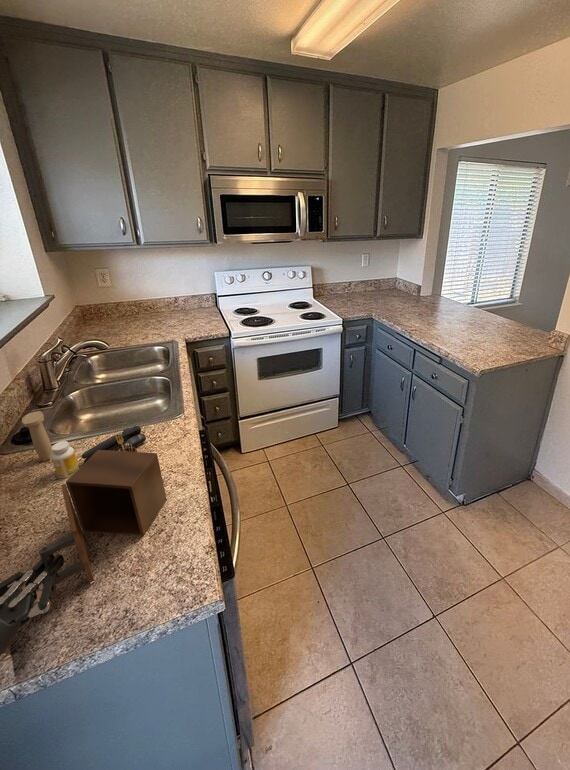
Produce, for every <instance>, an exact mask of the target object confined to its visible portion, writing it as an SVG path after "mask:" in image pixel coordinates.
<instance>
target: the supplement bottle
mask: <svg viewBox="0 0 570 770" xmlns="http://www.w3.org/2000/svg"><path fill="white" fill-rule="evenodd" d="M51 447H52V452H53V453H52V455H51V461H52V464H53V467H54V469H55V473H56V476H57V478H60V479H67V478H70V477H71V476H72V475H73V474H74V473H75V472H76V471H77V470H78V469H79V468H80V465H79V462H78V458H77V456H76V453H75V452H76V451H75V450H74V448H73V447H71V445H70V443H69V442H68V440H61V441H58V442H56V443H54V444H53V445H51Z"/></svg>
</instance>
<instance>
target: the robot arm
mask: <svg viewBox="0 0 570 770" xmlns="http://www.w3.org/2000/svg"><path fill="white" fill-rule="evenodd" d="M50 556H51V558H52V561H51V563H49V565H48V566H47V567H46V568H45V567H44V565H43V562H42V560H41V559H39V561H38V562H37V563H36V564H35V565H34V566H33V567H32V568H31V569H29V570H27V571H26V572H22V571H18V572H16V573H14V574H13V575H11V576H10V577H8V578H6V579H4V580H3V581H1V582H0V657H1V656H3V654H4V653H5V651H6V650H7V649H8V648H9V646H10V645H11V644H12V643H13V641H14V640H15V639H16V636H17V633H18V632H19V630H20V629H21V628H22V627H24V625H26V624H27V623H28V622H29V621H31V618H33V617H36V616H39V615H41V616H42V617H46V616H48V615H50V613H51V612H52V611H51V610H52V607H53V602H54V599H55V595H56V590H57V584H56V583H55V581H54V578H53V577H54V575H55V574H56V573H57V572H59V571H60V570H61V569H62V567H63V566H64V564H65V558H64V555H63V554H61V553H57V554H56V555H54V554H52V555H50Z"/></svg>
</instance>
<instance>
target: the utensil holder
mask: <svg viewBox="0 0 570 770" xmlns="http://www.w3.org/2000/svg"><path fill="white" fill-rule="evenodd" d="M121 432H122V431H119V432H118V433H120V436H121V439H120V436H119V434H118V433H117V434H114V436H116V439H117V442H118V444H121V446H120V447H121V449H120V450H119V451H128V452H138V449H137V447H132V446H131V447H129V446H128V447H125V448H124V447H123V445H122V443H123V442H124V440H123V438H122V435H121ZM117 435H118V438H119V441H118V438H117ZM128 444H129V443H128ZM126 445H127V444H126ZM129 445H130V444H129Z"/></svg>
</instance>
